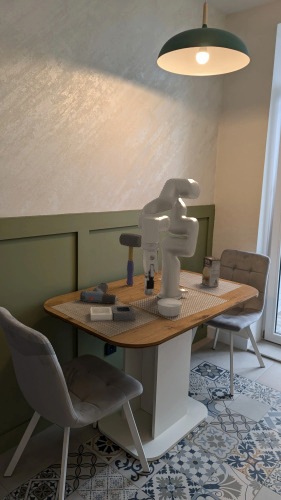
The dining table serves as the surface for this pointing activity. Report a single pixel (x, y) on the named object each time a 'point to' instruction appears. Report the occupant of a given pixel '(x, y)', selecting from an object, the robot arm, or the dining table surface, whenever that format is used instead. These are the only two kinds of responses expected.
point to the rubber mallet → (130, 252)
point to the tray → (100, 313)
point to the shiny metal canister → (147, 291)
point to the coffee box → (211, 271)
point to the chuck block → (123, 313)
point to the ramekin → (169, 307)
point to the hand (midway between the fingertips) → (149, 286)
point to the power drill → (98, 295)
